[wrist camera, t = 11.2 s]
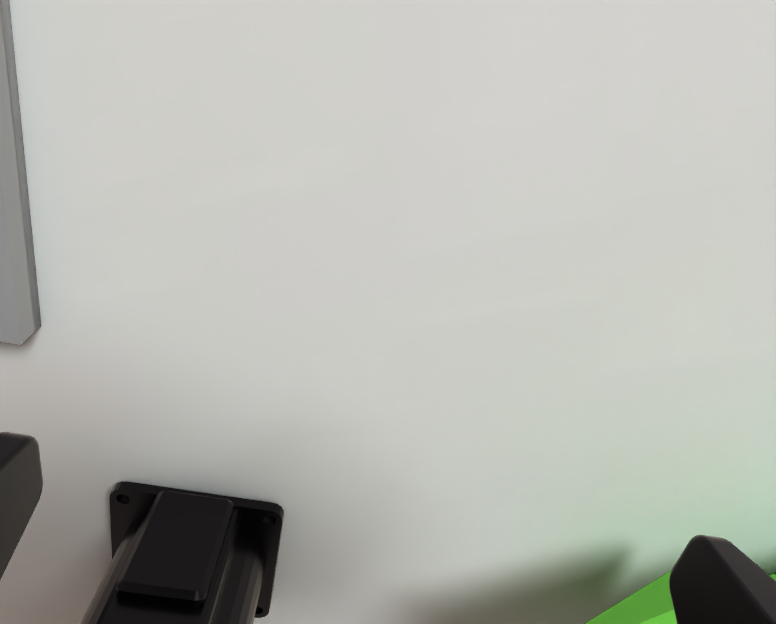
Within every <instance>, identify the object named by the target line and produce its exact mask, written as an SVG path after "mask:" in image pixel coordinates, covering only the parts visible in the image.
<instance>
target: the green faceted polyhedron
mask: <svg viewBox="0 0 776 624" xmlns="http://www.w3.org/2000/svg"><path fill="white" fill-rule="evenodd" d="M671 571H672V570H671ZM671 571H670V572H668V573H666V574H665V575H663V576H661V577H660V578H658V579H657V580H655V581H653V582H652V583H650V584H648V585H647V586H645V587H644V588H642V589H640V590H639V591H637V592H635V593H634V594H632V595H631V596H629V597H627V598H626V599H624V600H622V601H621V602H619V603H618V604H616V605H614V606H613V607H611V608H609V609H608V610H606V611H605V612H603V613H601V614H600V615H598V616H596V617H595V618H593V619H592V620H590V621H588V622H587V623H585V624H677V621H676V616H675V612H674V607H673V603H672V599H671V594H670V589H669V578H670V574H671ZM770 576H771V577H772V578H773V579H774V580H775V581H776V575H775V574H772V575H770Z"/></svg>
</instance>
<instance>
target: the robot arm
mask: <svg viewBox="0 0 776 624" xmlns="http://www.w3.org/2000/svg"><path fill="white" fill-rule="evenodd" d="M42 486H43V479H42V471H41V463H40V454H39V446H38V442H37V440H36V439H35V438H34V437H32V436H29V435H22V434H15V433H8V432H2V433H0V579H1V577H2V575H3V573H4V571H5V569H6V567H7V565H8V563H9V561H10V559H11V557H12V555H13V552H14V550H15V548H16V546H17V544H18V542H19V540H20V538H21V536H22V534H23V532H24V530H25V528H26V526H27V524H28V522H29V520H30V518H31V515H32V513H33V511H34V509H35V507H36V505H37V503H38V501H39V498H40V495H41V492H42ZM123 494H124V495H123ZM126 495H127V496H126ZM110 515H111V539H112V561H111V564H110V566H109V568H108V570H107V572H106V574H105V576H104V578H103V580H102V582H101V584H100V586H99V588H98V590H97V592H96V594H95V596H94V598H93V600H92V602H91V604H90V606H89V608H88V610H87V612H86V614H85V616H84V618H83V620H82V622H81V624H253V621H254V617H255V618H261V617H265V616H266V615H268V613H269V609H270V604H271V598H272V591H273V584H274V578H275V571H276V564H277V558H278V551H279V545H280V538H281V531H282V525H283V518H284V510H283V509H282V507H281V506H279V505H278V504H275V503H270V502H263V501H256V500H249V499H243V498H236V497H229V496H222V495H215V494H208V493H201V492H194V491H188V490H181V489H174V488H167V487H160V486H153V485H146V484H139V483H133V482H120V483H117V484H116V485H115V487H114V489H113V490H112V492H111V494H110ZM267 515H271V516H273V517H270V516H267ZM669 589H670V594H671V599H672V603H673V607H674V612H675V616H676V621H677V624H776V581H775V580H774V579H773V578H772V577H771V576H770V575H768V574H767V573H766V572H765V571H764V570H763V569H761V568H760V567H759V566H758V565H757V564H755V563H754V562H753V561H752V560H751V559H750V558H748V557H747V556H746V555H745V554H744V553H743V552H741V551H740V550H739V549H738V548H737V547H736V546H734V545H733V544H732V543H731V542H729V541H728V540H726V539H723V538H718V537H712V536H705V535H697V536H695V537H693V538H692V539H691V540H690V541H689V543H688V545H687V546H686V548H685V549H684V551H683V553H682V554H681V556H680V558H679V559H678V561H677V562H676V564H675V566H674V567H673V569H672V571H671V574H670V578H669Z"/></svg>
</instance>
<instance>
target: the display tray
mask: <svg viewBox="0 0 776 624" xmlns="http://www.w3.org/2000/svg"><path fill="white" fill-rule="evenodd" d="M40 326H41V320H40V309H39V299H38V289H37V279H36V269H35V259H34V249H33V239H32V229H31V219H30V209H29V199H28V189H27V179H26V168H25V158H24V148H23V138H22V128H21V118H20V108H19V98H18V88H17V78H16V68H15V58H14V48H13V38H12V27H11V17H10V7H9V0H0V342H5V343H11V344H17V345H22V344H23V343H24V342H25V341H26V340H27V339H28V338H29V337H30V336H31V335H32V334H33V333H34V332H35V331H36V330H37V329H38V328H39V327H40Z"/></svg>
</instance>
